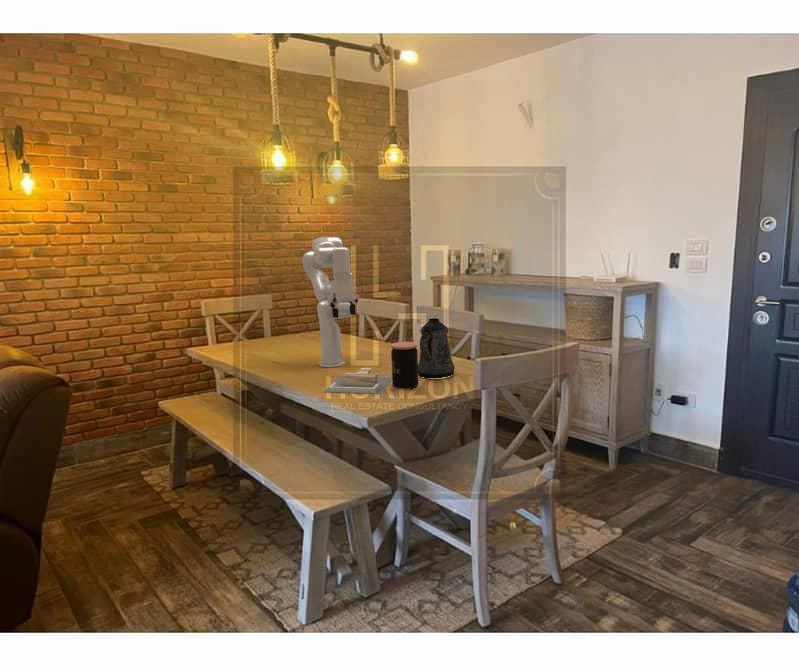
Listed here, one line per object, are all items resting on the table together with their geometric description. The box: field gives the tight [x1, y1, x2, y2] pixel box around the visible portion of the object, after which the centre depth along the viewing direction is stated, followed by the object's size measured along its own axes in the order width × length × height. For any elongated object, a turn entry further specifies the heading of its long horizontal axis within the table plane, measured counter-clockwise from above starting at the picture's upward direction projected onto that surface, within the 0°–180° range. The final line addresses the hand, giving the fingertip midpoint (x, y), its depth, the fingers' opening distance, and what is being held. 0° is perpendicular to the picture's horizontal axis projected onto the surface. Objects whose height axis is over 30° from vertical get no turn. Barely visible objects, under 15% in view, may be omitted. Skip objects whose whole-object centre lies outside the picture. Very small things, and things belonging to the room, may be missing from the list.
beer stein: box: [418, 317, 455, 379], centre depth 253 cm, size 16×19×25 cm
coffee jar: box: [390, 341, 419, 391], centre depth 237 cm, size 11×11×18 cm
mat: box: [322, 375, 392, 395], centre depth 241 cm, size 26×24×3 cm
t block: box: [341, 367, 379, 386], centre depth 246 cm, size 14×14×4 cm
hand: (344, 315), depth 253 cm, fingers open, 9 cm apart
